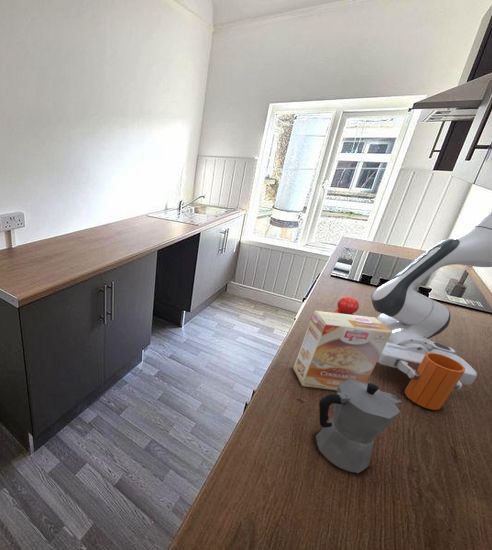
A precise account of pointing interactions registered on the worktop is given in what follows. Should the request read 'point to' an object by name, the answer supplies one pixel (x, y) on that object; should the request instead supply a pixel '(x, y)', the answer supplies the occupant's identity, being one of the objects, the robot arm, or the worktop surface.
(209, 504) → the worktop surface
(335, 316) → the coffeecake box
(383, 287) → the robot arm
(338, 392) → the coffeepot
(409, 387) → the orange staved tumbler
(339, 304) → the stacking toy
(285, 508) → the worktop surface
